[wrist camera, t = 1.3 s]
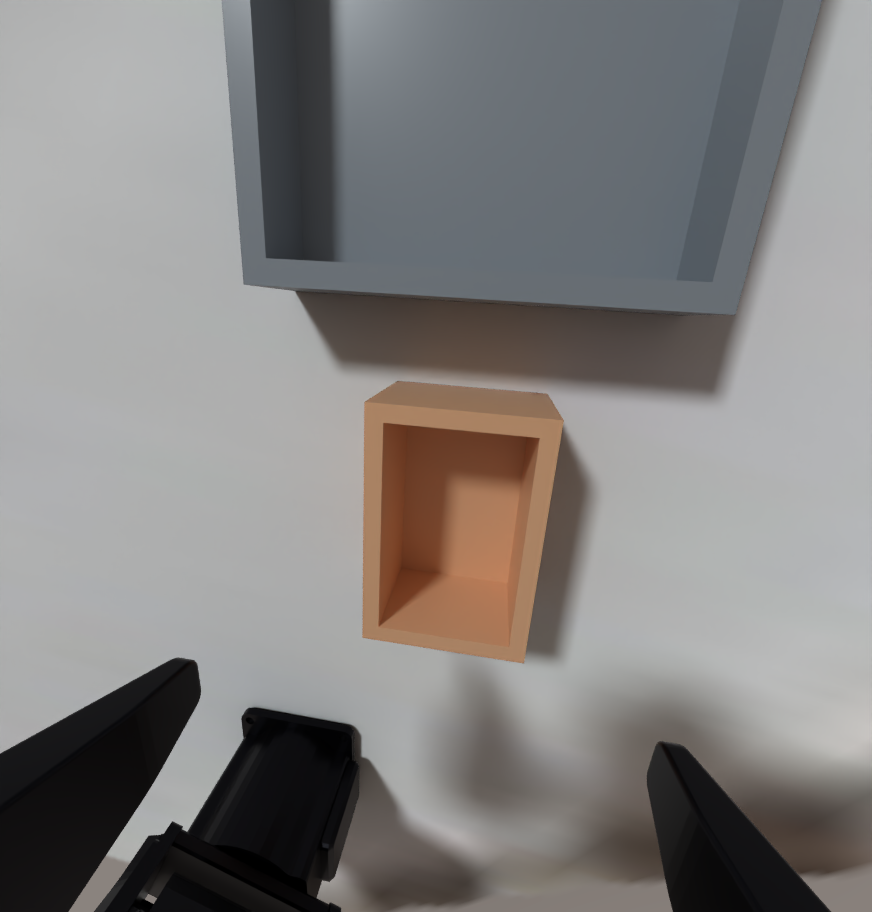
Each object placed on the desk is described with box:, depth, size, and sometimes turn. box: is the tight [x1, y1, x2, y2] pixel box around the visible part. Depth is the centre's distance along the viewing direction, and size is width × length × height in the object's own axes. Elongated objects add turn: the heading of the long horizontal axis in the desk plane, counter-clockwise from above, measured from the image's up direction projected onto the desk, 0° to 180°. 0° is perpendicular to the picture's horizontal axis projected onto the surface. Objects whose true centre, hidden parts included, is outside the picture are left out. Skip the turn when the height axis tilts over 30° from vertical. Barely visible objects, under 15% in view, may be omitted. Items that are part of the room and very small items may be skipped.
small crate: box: [363, 381, 564, 663], centre depth 16 cm, size 6×9×4 cm, turn 176°
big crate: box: [222, 0, 822, 315], centre depth 12 cm, size 15×15×4 cm
